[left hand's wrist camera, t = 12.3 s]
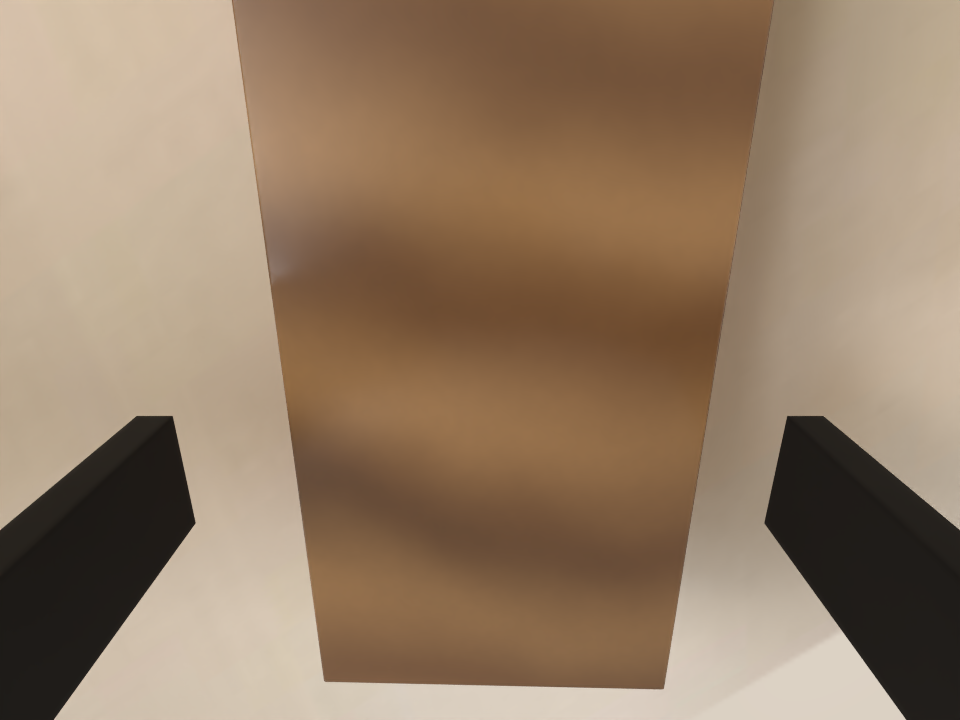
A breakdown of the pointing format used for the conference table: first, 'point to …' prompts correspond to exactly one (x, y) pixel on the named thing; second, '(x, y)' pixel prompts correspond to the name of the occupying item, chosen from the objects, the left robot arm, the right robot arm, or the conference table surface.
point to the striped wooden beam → (499, 316)
